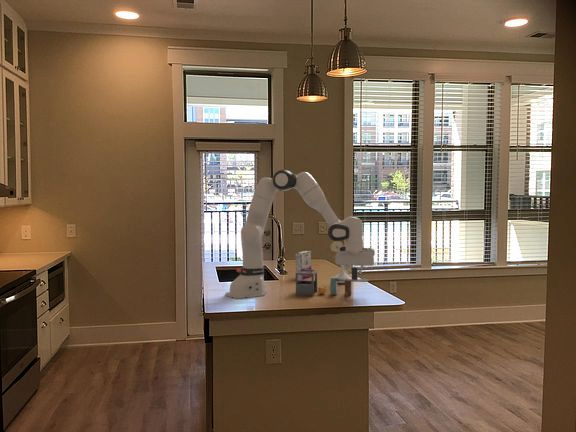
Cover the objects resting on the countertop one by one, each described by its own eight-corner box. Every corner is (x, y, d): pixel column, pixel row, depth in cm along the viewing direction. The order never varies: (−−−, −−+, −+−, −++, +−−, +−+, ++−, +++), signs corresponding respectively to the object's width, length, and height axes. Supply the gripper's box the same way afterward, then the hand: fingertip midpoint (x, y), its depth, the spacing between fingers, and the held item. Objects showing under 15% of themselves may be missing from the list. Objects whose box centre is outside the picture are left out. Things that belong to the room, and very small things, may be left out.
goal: (317, 291, 274) (317, 269, 273) (313, 296, 262) (313, 273, 262) (300, 291, 276) (299, 269, 275) (295, 295, 264) (295, 273, 264)
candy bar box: (305, 275, 323) (305, 250, 322) (311, 276, 320) (311, 251, 319) (295, 278, 314) (294, 252, 313) (301, 279, 311) (301, 253, 310)
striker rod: (368, 292, 265) (368, 266, 264) (367, 295, 259) (367, 268, 258) (331, 291, 269) (331, 265, 268) (330, 294, 263) (330, 267, 263)
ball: (321, 295, 265) (321, 287, 264) (316, 294, 268) (316, 286, 268) (327, 294, 267) (327, 286, 267) (322, 293, 270) (322, 285, 270)
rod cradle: (351, 294, 267) (351, 278, 266) (350, 296, 262) (350, 280, 261) (345, 293, 267) (345, 278, 267) (344, 295, 262) (344, 280, 262)
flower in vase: (353, 281, 302) (353, 240, 301) (350, 285, 291) (350, 242, 290) (332, 280, 306) (331, 239, 304) (328, 284, 295) (328, 241, 293)
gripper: (374, 247, 263) (375, 273, 264) (336, 246, 268) (336, 272, 268) (374, 248, 257) (374, 275, 258) (334, 248, 261) (334, 274, 262)
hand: (354, 273), depth 263 cm, fingers open, 4 cm apart
